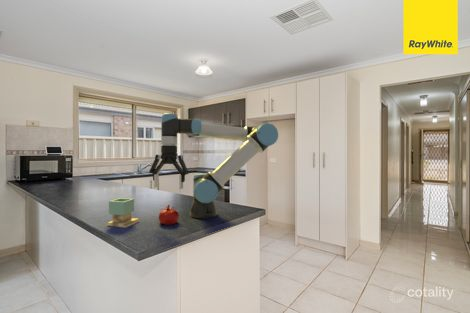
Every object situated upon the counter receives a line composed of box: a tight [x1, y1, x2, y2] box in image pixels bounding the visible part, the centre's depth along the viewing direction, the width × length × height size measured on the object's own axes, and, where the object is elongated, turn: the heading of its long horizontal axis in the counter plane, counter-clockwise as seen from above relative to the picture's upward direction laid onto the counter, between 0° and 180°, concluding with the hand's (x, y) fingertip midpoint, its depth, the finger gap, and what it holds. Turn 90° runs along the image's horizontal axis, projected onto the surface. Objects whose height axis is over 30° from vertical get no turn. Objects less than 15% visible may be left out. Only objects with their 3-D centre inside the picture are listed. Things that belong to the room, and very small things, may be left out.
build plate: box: [107, 212, 140, 228], centre depth 120 cm, size 10×10×6 cm
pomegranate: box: [158, 204, 180, 226], centre depth 122 cm, size 10×10×9 cm
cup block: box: [108, 197, 135, 215], centre depth 120 cm, size 8×8×6 cm
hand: (168, 188), depth 122 cm, fingers open, 13 cm apart
